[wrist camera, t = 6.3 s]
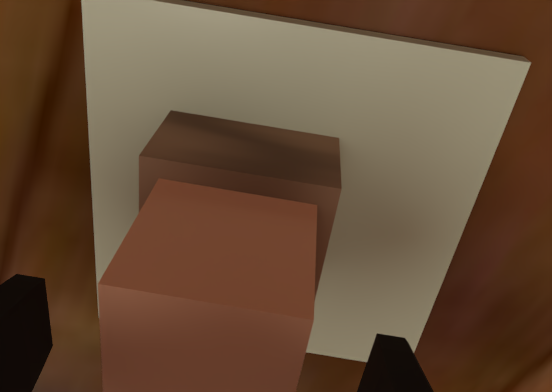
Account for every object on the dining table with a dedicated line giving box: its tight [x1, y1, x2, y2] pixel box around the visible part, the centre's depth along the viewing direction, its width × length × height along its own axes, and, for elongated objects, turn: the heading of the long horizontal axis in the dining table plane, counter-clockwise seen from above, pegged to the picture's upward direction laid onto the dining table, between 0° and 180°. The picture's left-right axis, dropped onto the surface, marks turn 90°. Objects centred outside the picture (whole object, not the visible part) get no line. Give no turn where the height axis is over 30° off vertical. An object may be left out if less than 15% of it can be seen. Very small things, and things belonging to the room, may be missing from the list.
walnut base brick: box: [139, 110, 342, 302], centre depth 15 cm, size 5×5×3 cm
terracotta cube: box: [98, 178, 317, 392], centre depth 12 cm, size 4×4×4 cm
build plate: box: [81, 0, 531, 362], centre depth 17 cm, size 12×12×1 cm
